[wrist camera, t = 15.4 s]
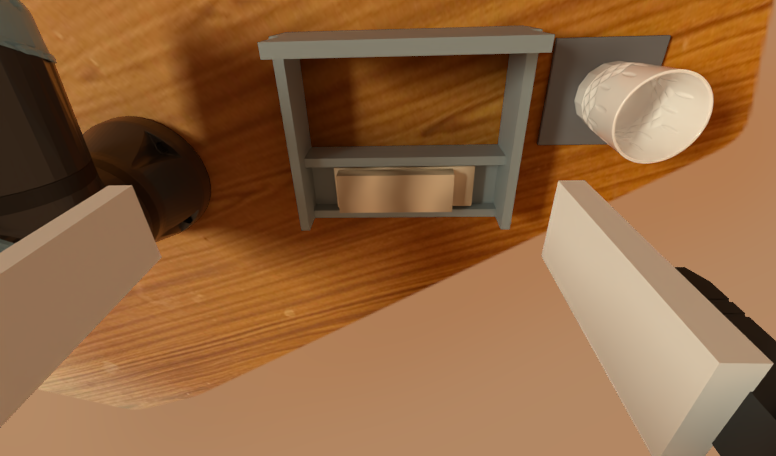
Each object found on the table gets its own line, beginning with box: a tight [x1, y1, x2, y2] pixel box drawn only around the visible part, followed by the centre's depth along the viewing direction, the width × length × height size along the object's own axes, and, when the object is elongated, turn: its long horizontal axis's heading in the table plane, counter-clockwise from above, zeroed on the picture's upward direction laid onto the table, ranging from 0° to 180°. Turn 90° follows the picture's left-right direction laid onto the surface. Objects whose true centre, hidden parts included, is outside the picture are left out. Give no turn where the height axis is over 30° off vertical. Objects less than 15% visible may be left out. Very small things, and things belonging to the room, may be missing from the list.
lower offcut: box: [334, 165, 475, 207], centre depth 45 cm, size 16×5×2 cm, turn 91°
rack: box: [257, 26, 555, 231], centre depth 38 cm, size 24×20×12 cm
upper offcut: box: [336, 169, 455, 213], centre depth 43 cm, size 13×5×2 cm, turn 91°
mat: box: [537, 35, 671, 145], centre depth 40 cm, size 11×11×1 cm
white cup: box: [574, 61, 714, 164], centre depth 36 cm, size 8×8×10 cm
